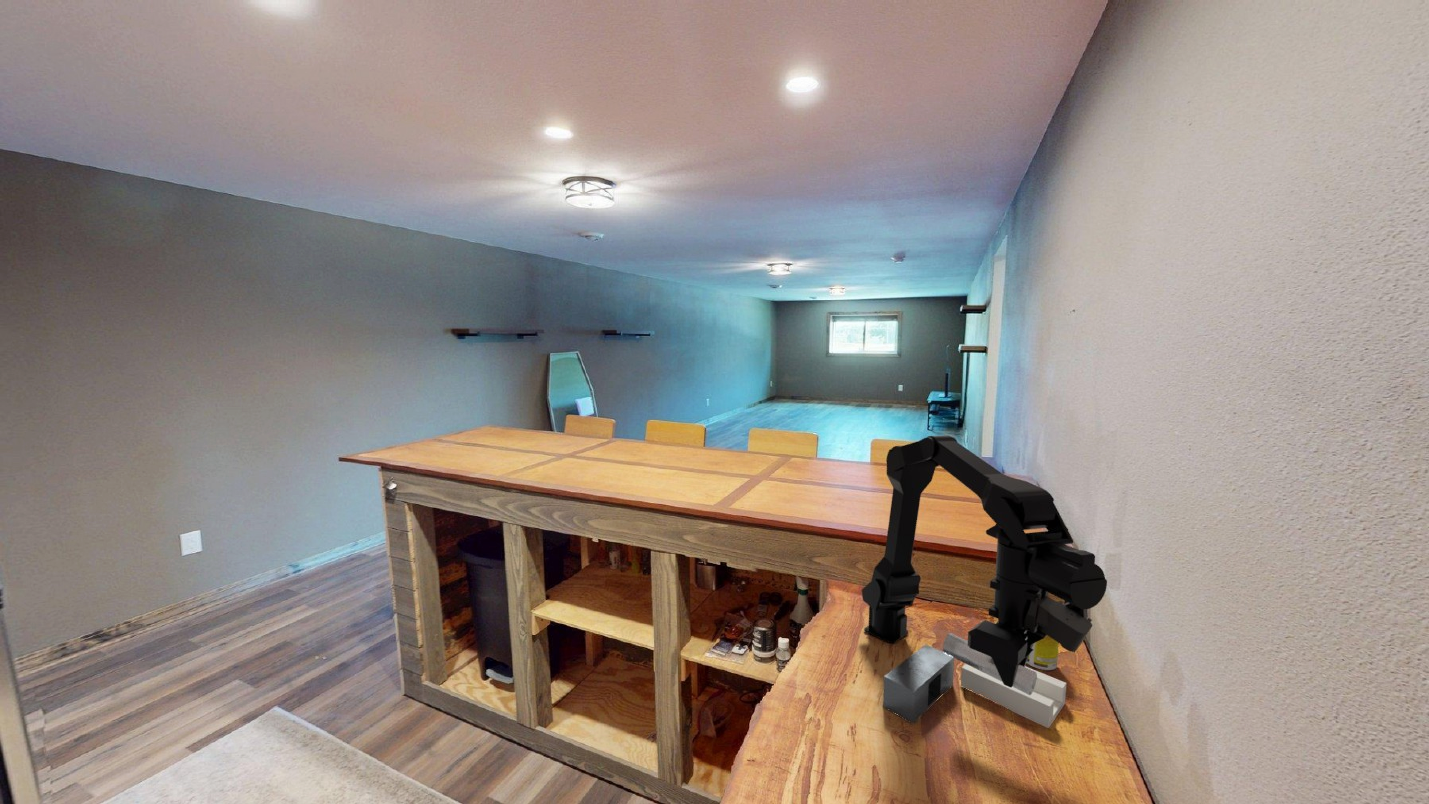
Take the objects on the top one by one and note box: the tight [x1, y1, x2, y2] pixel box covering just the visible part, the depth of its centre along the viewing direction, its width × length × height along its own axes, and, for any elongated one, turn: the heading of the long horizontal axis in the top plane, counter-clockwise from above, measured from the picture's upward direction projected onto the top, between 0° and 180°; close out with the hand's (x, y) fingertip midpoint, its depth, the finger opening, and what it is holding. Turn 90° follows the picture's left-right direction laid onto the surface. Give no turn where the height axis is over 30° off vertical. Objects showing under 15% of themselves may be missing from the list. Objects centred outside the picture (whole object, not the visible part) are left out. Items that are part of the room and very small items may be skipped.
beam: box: [882, 644, 955, 725], centre depth 84 cm, size 5×14×5 cm, turn 132°
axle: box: [942, 632, 1037, 695], centre depth 76 cm, size 12×3×3 cm, turn 41°
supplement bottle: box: [1026, 635, 1060, 671], centre depth 94 cm, size 6×6×10 cm
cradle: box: [960, 663, 1067, 729], centre depth 85 cm, size 13×9×4 cm, turn 42°
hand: (1012, 680), depth 74 cm, fingers closed on axle, 3 cm apart
